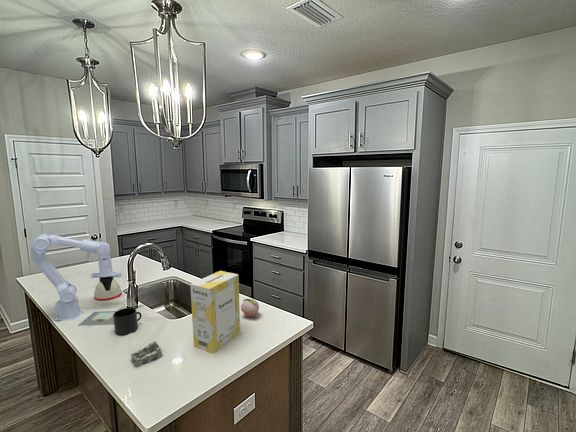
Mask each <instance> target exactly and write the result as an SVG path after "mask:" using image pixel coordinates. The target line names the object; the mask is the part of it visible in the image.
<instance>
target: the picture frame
mask: <svg viewBox="0 0 576 432" xmlns="http://www.w3.org/2000/svg"><path fill="white" fill-rule="evenodd" d="M116 311H117V310H111V311H110V310H106V311H105V310H102V311H93V312H92V313H91V314H90V315H89V316H87V317H86V318H84V319H83V321H81V322H80V323H79V324H78V325H77V327H81V326H82V327H83V326H108V325H109V326H110V325H111V326H112V325H113V326H114V318H112V319H111V320H110V321H103V322H92V319H93V318H94V317H95V316H97V315H98V314H99V313H106V312H116Z"/></svg>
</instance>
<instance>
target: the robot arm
mask: <svg viewBox="0 0 576 432" xmlns="http://www.w3.org/2000/svg"><path fill="white" fill-rule="evenodd" d="M50 246H51V248H53V247H57V246H64V247H65V246H66V247H74V248H78V249H79V250H80V251H81V252H82V251H83V252H88V253H94V254H98V257H97V258H98V260H97V261H98V269H99V272H95V273H92V274H90V277H91V279H94V278H95V279H96V278H99V277H101V278H99V281H100V282H101V283H102V284H103V286H104V288H105V290H106V291H109V290H110V288H111V283H112V280H113V279H115V278H122V272H118V271H117V272H114V271H113V265H112V256H111V246H110V244H109V243H108V242H105V241H100V240H99V241H95V240H91V239H90V238H87V239H85V238H84V239H83V240H78V239H74V238H68V237H65V236H60V235H56V234H49V233H48V234H47V233H41V234H39V235H37V236H36V238H35V239H33V241H32V243H31V245H30V258H31V261H32V262H33V263H34V264H35V265H36V267H37V268H38V269H39V270H40V271H41V272H42V273H43V274H44V276H45V277H46V279H48V280H49V282H50V283H51V284H52V285H53V286H54V288H55V290H56V292H57V294H58V295H59V300H57V301H56V302H55V305H54V312H55V313H54V314H55V320H54V321H74V320H76V319H77V318H79V317H81V315H83V314H84V311H80V304H79V298H78V296H77V295H76V293H77V287H76V286H75V285H74V284H71V283H70V281H68V280H66V279H65V278H64V276H63V275H62V274H61V273H60V271H58V269H57V268H56V267H55V265H54V264H53V263H52V262H51V261H50V260H49V258H48V257H47V256H46V253H47V250H48V249H49V247H50Z"/></svg>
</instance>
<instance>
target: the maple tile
mask: <svg viewBox="0 0 576 432" xmlns="http://www.w3.org/2000/svg"><path fill="white" fill-rule="evenodd" d="M114 313H115V312H106V313H99V314H98V315H97V316H95V317H94V318H93V319H92V322H103V321H110V320H111V319H112V318H113V314H114Z"/></svg>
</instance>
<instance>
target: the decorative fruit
mask: <svg viewBox="0 0 576 432" xmlns="http://www.w3.org/2000/svg"><path fill="white" fill-rule="evenodd" d="M259 309H260V304H259V302H258V300H256V299H253V298H244V299H242V302H241V305H240V310H241V312H242V313H243V315H245V316H247V317H251V318H252V317H254V316H256V315H257V314H258V312H259Z"/></svg>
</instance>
